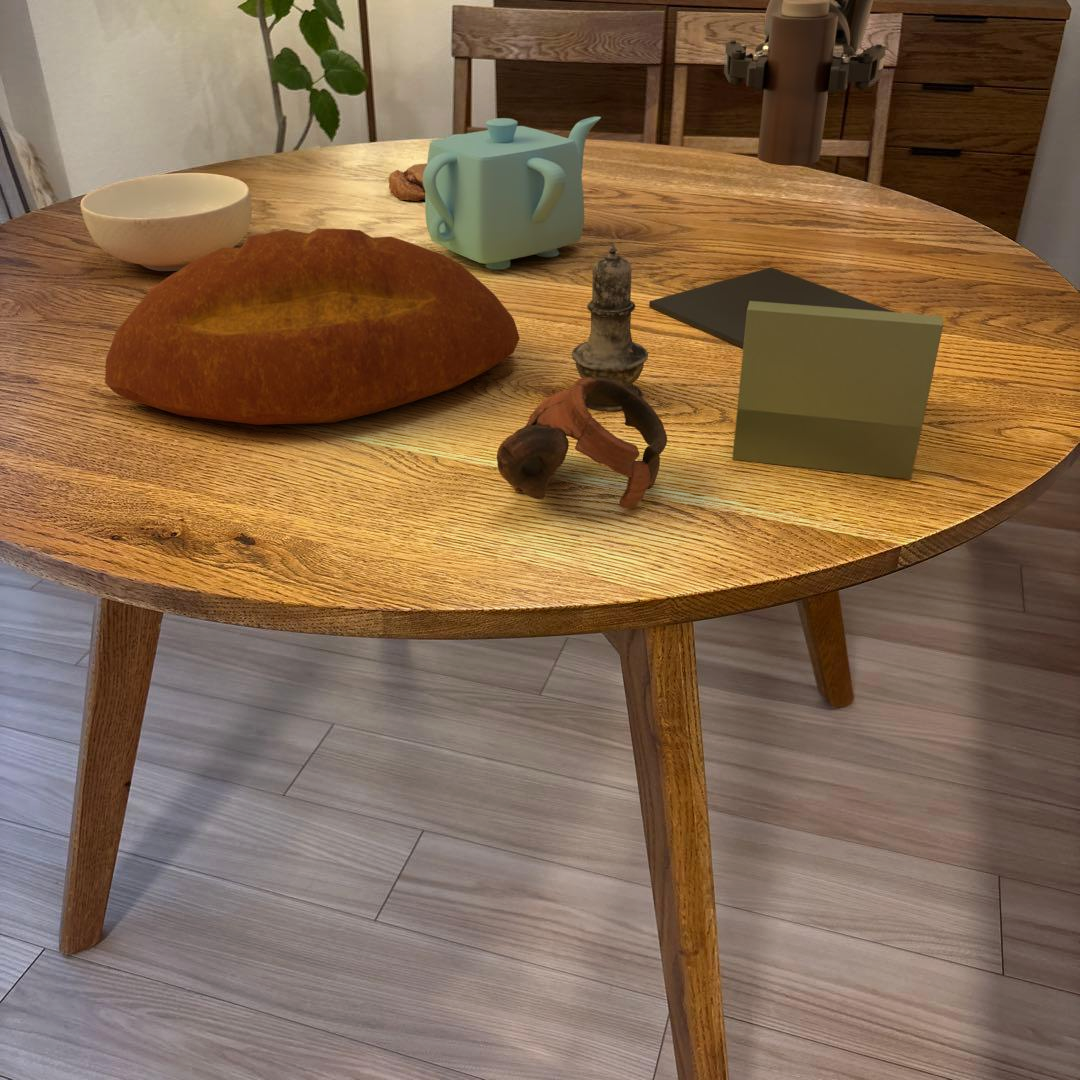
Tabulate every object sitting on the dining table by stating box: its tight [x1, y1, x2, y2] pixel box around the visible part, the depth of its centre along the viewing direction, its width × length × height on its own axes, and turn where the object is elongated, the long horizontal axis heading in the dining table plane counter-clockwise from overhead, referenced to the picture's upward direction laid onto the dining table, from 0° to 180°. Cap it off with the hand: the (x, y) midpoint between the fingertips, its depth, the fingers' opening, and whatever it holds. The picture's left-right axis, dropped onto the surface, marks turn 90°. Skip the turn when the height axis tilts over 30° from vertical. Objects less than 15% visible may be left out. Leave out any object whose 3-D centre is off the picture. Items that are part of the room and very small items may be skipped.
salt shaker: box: [571, 244, 649, 412], centre depth 78 cm, size 6×6×12 cm
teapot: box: [423, 116, 602, 271], centre depth 109 cm, size 18×16×14 cm
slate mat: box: [648, 266, 895, 349], centre depth 96 cm, size 16×16×1 cm
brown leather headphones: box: [496, 376, 668, 510], centre depth 68 cm, size 12×10×8 cm
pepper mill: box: [756, 0, 838, 167], centre depth 85 cm, size 5×5×12 cm
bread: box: [104, 228, 521, 426], centre depth 81 cm, size 21×33×12 cm, turn 100°
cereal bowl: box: [80, 172, 253, 272], centre depth 109 cm, size 17×17×7 cm
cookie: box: [388, 163, 427, 202], centre depth 132 cm, size 10×11×3 cm
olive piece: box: [731, 301, 944, 480], centre depth 73 cm, size 12×12×11 cm
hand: (796, 80), depth 83 cm, fingers closed on pepper mill, 5 cm apart
